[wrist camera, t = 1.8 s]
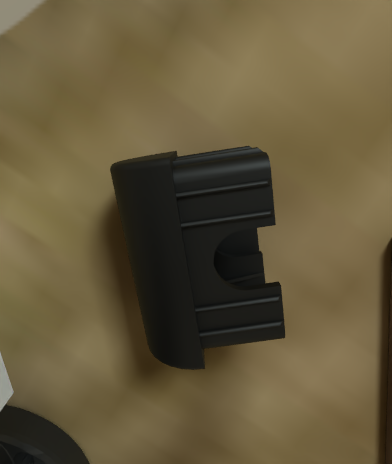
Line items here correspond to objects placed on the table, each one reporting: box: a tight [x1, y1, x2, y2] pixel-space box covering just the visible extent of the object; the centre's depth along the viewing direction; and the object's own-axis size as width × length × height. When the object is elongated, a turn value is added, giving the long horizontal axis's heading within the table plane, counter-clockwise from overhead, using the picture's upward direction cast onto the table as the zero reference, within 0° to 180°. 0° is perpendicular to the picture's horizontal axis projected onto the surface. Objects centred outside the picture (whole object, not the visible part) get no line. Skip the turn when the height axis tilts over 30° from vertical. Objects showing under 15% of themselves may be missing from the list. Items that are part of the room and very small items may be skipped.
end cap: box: [110, 146, 285, 370], centre depth 18 cm, size 10×7×7 cm
